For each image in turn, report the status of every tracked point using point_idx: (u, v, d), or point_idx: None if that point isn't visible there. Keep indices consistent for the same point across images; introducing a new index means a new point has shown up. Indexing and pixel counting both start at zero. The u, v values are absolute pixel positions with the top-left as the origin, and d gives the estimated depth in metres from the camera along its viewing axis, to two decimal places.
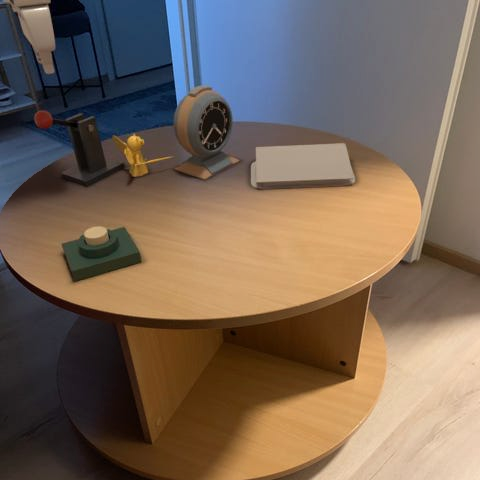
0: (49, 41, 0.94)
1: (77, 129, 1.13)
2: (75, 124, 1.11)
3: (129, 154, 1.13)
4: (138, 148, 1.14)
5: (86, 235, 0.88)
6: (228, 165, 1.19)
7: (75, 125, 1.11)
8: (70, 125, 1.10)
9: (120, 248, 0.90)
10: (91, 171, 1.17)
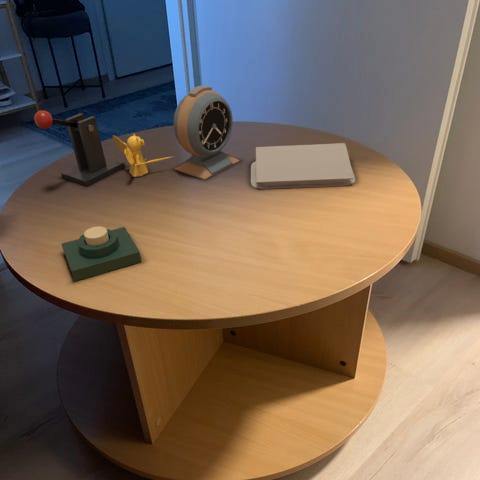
0: None
1: (77, 129, 1.13)
2: (75, 124, 1.11)
3: (129, 154, 1.13)
4: (138, 148, 1.14)
5: (86, 235, 0.88)
6: (228, 165, 1.19)
7: (75, 125, 1.11)
8: (70, 125, 1.10)
9: (120, 248, 0.90)
10: (91, 171, 1.17)
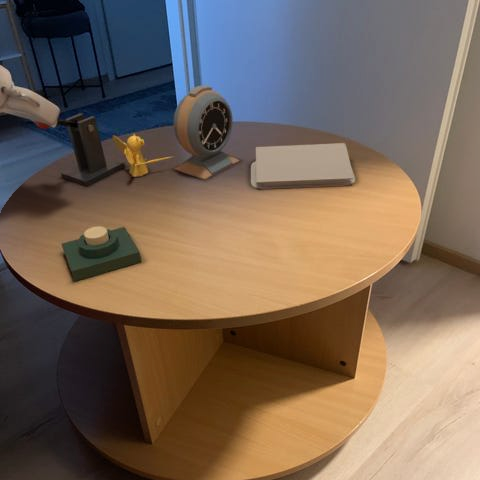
0: None
1: (77, 129, 1.13)
2: (75, 124, 1.11)
3: (129, 154, 1.13)
4: (138, 148, 1.14)
5: (86, 235, 0.88)
6: (228, 165, 1.19)
7: (75, 125, 1.11)
8: (70, 125, 1.10)
9: (120, 248, 0.90)
10: (91, 171, 1.17)
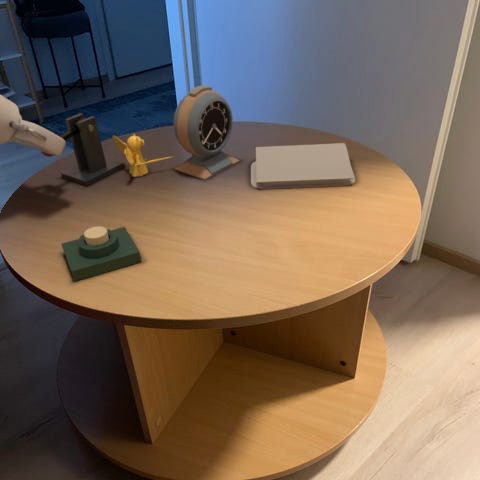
0: None
1: (79, 132, 1.13)
2: (76, 130, 1.12)
3: (129, 154, 1.13)
4: (138, 148, 1.14)
5: (86, 235, 0.88)
6: (228, 165, 1.19)
7: (76, 131, 1.12)
8: (72, 135, 1.12)
9: (120, 248, 0.90)
10: (91, 171, 1.17)
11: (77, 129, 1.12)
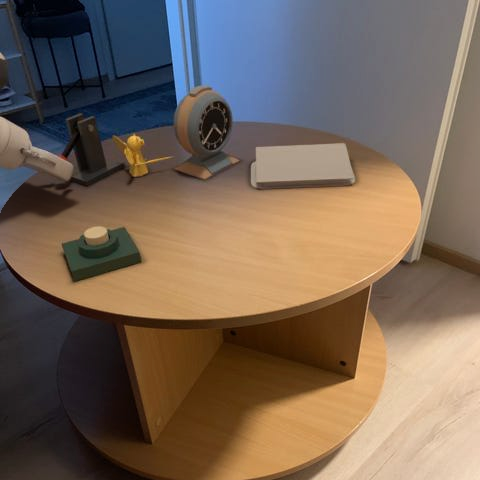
0: None
1: None
2: (78, 134, 1.13)
3: (129, 154, 1.13)
4: (138, 148, 1.14)
5: (86, 235, 0.88)
6: (228, 165, 1.19)
7: (78, 135, 1.13)
8: (76, 140, 1.13)
9: (120, 248, 0.90)
10: (91, 171, 1.17)
11: (79, 132, 1.13)
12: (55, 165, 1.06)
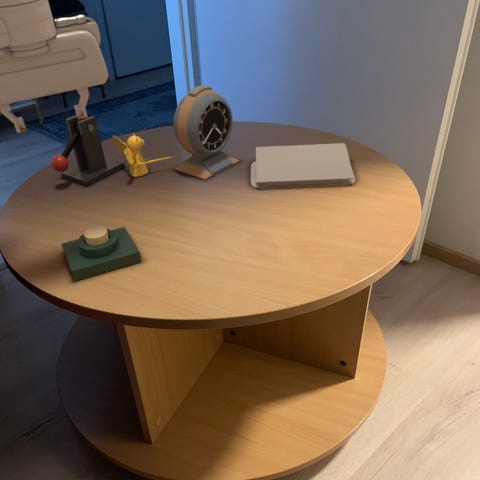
0: None
1: None
2: (78, 134, 1.13)
3: (129, 154, 1.13)
4: (138, 148, 1.14)
5: (86, 235, 0.88)
6: (228, 165, 1.19)
7: (78, 135, 1.13)
8: (76, 140, 1.13)
9: (120, 248, 0.90)
10: (91, 171, 1.17)
11: (79, 132, 1.13)
12: None
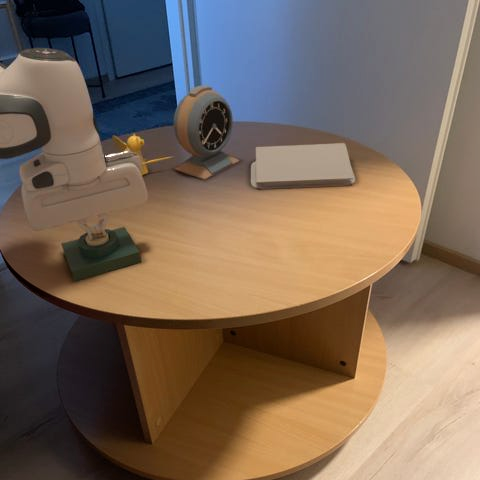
0: (28, 221, 0.81)
1: None
2: None
3: None
4: (138, 148, 1.14)
5: (87, 240, 0.89)
6: (228, 165, 1.19)
7: None
8: None
9: (120, 248, 0.90)
10: None
11: None
12: None
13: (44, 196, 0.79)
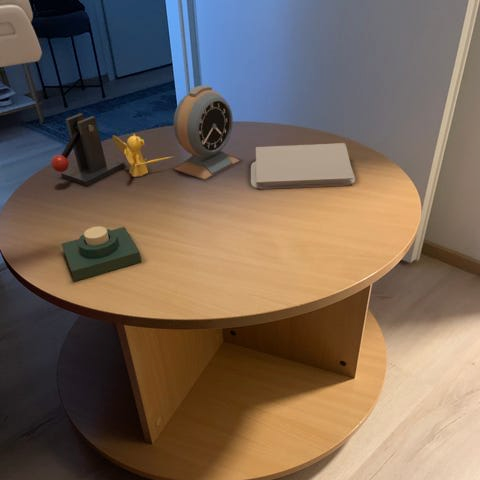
0: None
1: None
2: (78, 134, 1.13)
3: (129, 154, 1.13)
4: (138, 148, 1.14)
5: (86, 235, 0.88)
6: (228, 165, 1.19)
7: (78, 135, 1.13)
8: (76, 140, 1.13)
9: (120, 248, 0.90)
10: (91, 171, 1.17)
11: (79, 132, 1.13)
12: None
13: None
